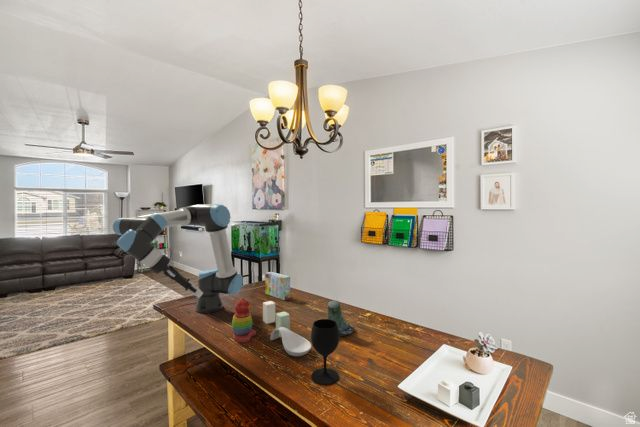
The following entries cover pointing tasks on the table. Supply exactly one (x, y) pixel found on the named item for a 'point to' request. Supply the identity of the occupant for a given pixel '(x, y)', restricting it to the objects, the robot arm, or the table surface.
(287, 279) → the snack box
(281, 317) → the sage-green block
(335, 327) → the wine glass
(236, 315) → the stacking bear
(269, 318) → the off-white block
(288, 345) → the spoon rest
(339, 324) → the tree stump
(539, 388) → the table surface
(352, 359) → the table surface
